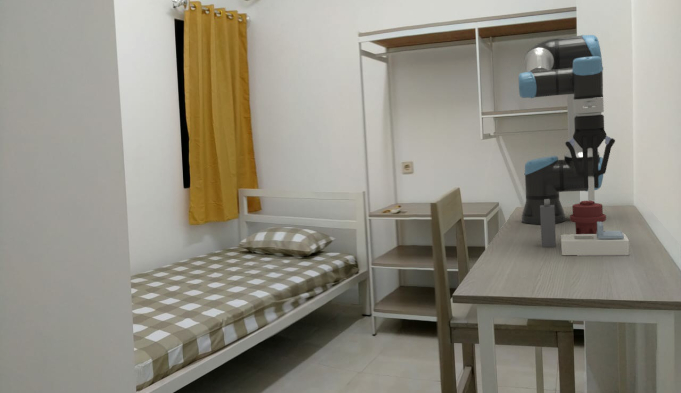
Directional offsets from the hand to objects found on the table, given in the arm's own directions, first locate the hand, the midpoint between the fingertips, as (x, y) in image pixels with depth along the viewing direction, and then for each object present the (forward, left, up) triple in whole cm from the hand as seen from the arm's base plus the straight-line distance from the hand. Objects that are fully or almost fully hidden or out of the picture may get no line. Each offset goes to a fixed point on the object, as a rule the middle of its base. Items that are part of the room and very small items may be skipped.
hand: (591, 199), depth 172 cm
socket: (0, 0, -15) cm, 15 cm away
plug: (-8, -12, -15) cm, 20 cm away
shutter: (0, +4, -10) cm, 11 cm away
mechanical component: (-13, 0, -15) cm, 20 cm away
